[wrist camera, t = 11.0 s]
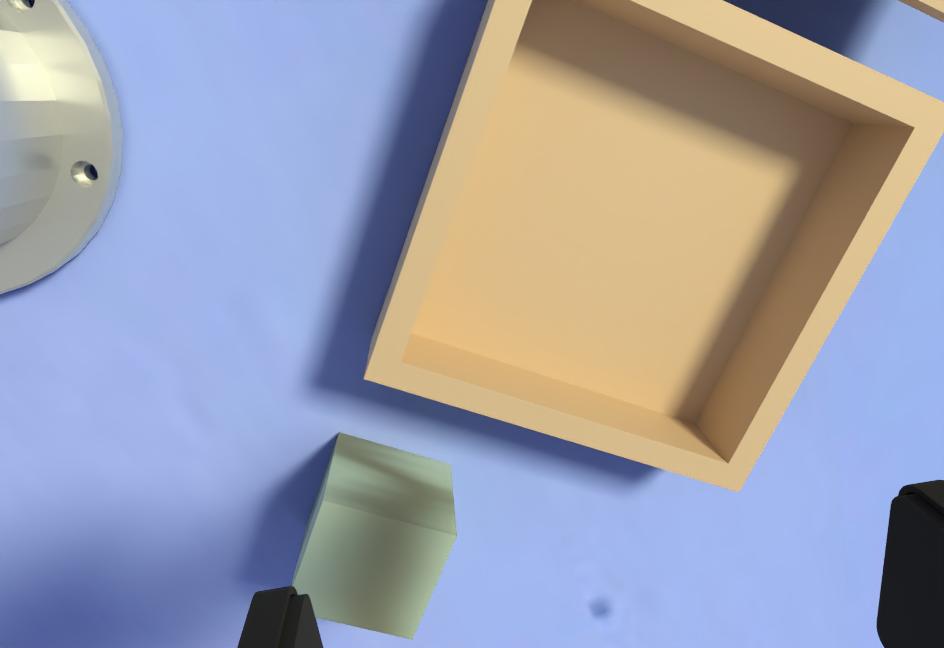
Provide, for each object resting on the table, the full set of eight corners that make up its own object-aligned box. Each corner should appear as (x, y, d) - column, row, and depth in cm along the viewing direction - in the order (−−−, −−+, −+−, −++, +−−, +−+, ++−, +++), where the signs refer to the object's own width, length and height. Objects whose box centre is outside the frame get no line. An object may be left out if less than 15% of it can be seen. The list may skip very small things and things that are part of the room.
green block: (306, 526, 29) (284, 610, 24) (339, 431, 28) (322, 500, 23) (413, 553, 30) (412, 639, 25) (450, 463, 29) (456, 536, 24)
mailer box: (371, 337, 26) (363, 378, 22) (508, -59, 22) (526, -90, 18) (697, 440, 29) (738, 492, 25) (874, 106, 25) (956, 108, 21)
